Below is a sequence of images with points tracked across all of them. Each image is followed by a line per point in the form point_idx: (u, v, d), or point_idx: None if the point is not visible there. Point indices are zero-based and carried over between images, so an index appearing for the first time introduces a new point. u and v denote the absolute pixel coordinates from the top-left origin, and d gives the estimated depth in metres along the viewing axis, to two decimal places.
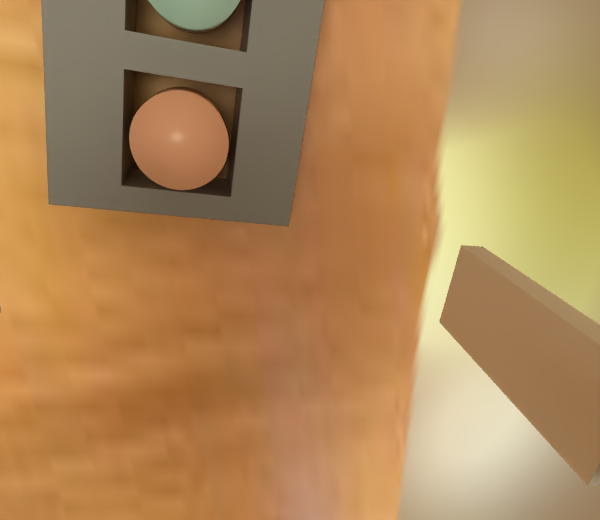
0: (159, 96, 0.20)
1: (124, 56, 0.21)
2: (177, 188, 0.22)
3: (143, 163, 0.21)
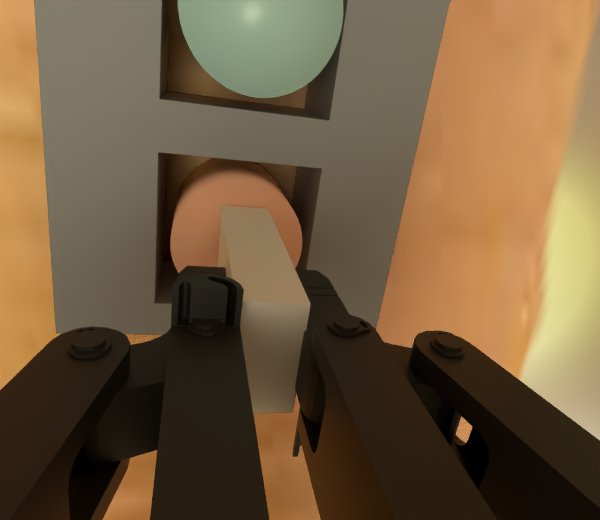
0: (211, 188, 0.15)
1: (159, 135, 0.15)
2: None
3: None
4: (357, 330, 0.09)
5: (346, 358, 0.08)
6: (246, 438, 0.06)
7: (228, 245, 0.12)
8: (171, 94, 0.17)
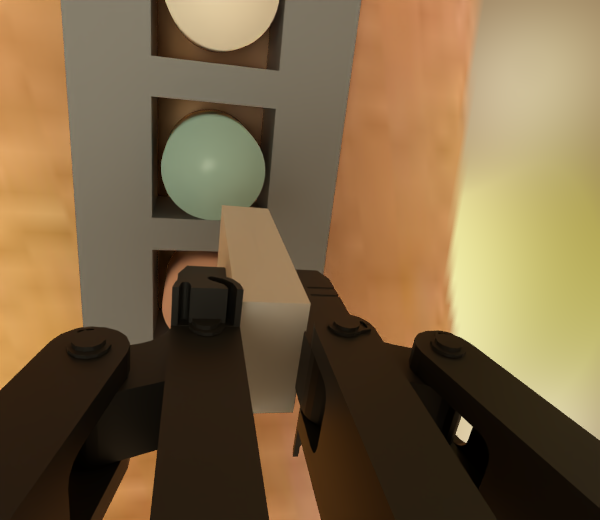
0: None
1: (152, 239, 0.22)
2: None
3: None
4: (357, 330, 0.09)
5: (346, 358, 0.08)
6: (246, 438, 0.06)
7: (228, 245, 0.12)
8: (160, 203, 0.24)
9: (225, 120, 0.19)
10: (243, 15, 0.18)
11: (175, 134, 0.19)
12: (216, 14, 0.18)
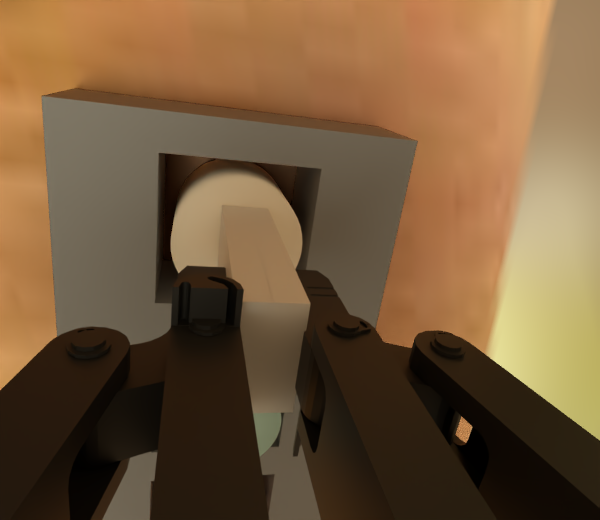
0: None
1: (151, 472, 0.20)
2: None
3: None
4: (357, 330, 0.09)
5: (346, 358, 0.08)
6: (246, 438, 0.06)
7: (228, 245, 0.12)
8: None
9: None
10: None
11: None
12: None
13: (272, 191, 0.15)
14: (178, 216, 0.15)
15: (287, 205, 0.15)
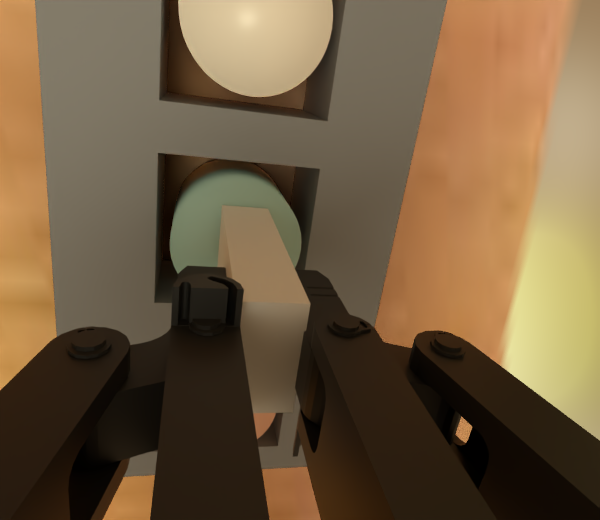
0: None
1: (154, 328, 0.17)
2: None
3: None
4: (357, 330, 0.09)
5: (346, 358, 0.08)
6: (246, 438, 0.06)
7: (228, 245, 0.12)
8: (165, 273, 0.19)
9: (254, 184, 0.15)
10: (283, 53, 0.14)
11: (189, 201, 0.15)
12: (248, 52, 0.14)
13: None
14: None
15: None
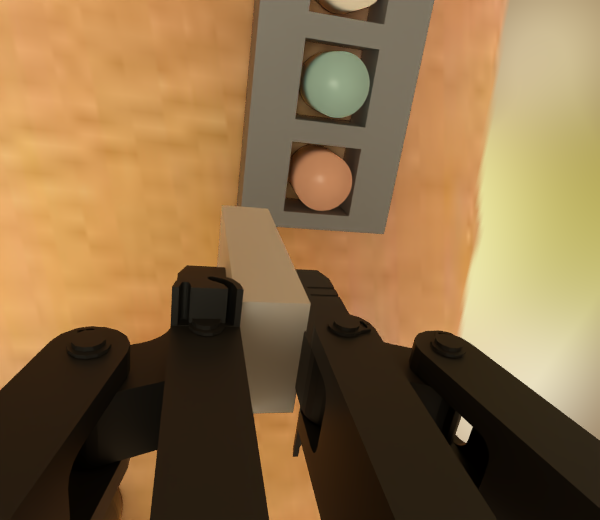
0: (315, 156, 0.34)
1: (293, 134, 0.34)
2: (320, 209, 0.36)
3: (302, 195, 0.35)
4: (357, 330, 0.09)
5: (346, 358, 0.08)
6: (246, 438, 0.06)
7: (228, 245, 0.12)
8: None
9: (349, 53, 0.32)
10: None
11: (320, 60, 0.32)
12: None
13: None
14: None
15: None
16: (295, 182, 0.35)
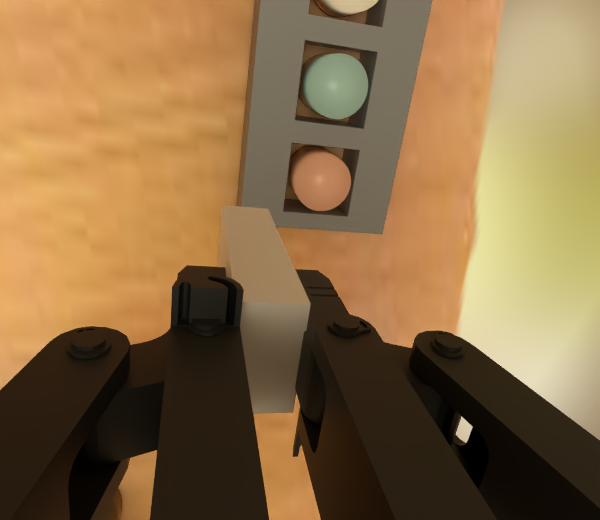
0: (314, 157, 0.35)
1: (292, 135, 0.35)
2: (319, 210, 0.36)
3: (301, 196, 0.36)
4: (357, 330, 0.09)
5: (346, 358, 0.08)
6: (246, 438, 0.06)
7: (228, 245, 0.12)
8: None
9: (348, 55, 0.32)
10: None
11: (319, 62, 0.32)
12: None
13: None
14: None
15: None
16: (294, 183, 0.35)
